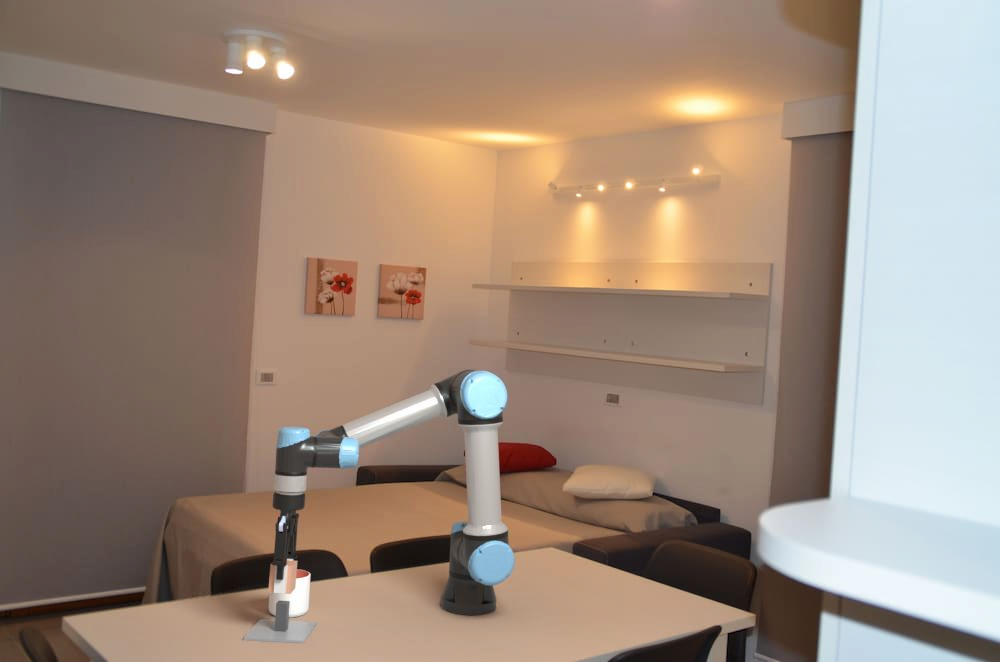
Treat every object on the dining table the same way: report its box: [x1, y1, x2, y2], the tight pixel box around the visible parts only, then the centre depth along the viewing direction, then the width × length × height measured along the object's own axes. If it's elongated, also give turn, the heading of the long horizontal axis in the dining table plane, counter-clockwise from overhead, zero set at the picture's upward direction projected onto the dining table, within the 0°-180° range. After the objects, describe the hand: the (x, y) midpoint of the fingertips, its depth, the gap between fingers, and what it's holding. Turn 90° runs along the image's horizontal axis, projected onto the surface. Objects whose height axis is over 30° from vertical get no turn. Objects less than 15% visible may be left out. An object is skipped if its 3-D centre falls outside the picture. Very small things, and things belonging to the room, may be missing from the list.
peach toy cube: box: [268, 559, 298, 594], centre depth 207 cm, size 5×5×7 cm
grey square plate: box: [243, 601, 318, 644], centre depth 207 cm, size 14×14×7 cm
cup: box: [268, 568, 312, 619], centre depth 222 cm, size 10×10×10 cm
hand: (282, 589), depth 207 cm, fingers closed on peach toy cube, 5 cm apart
